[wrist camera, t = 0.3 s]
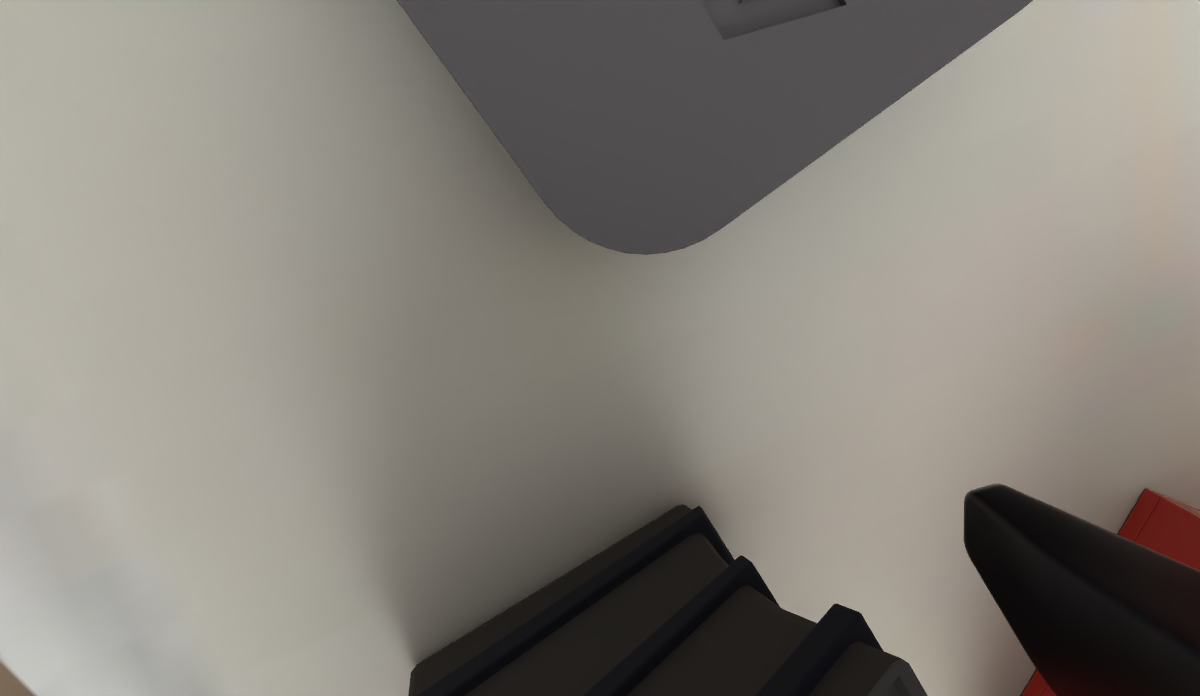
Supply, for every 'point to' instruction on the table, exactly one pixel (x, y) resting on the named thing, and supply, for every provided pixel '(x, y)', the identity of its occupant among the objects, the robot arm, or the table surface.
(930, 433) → the table surface
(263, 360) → the table surface
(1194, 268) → the table surface
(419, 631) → the table surface
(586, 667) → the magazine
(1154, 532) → the valve cabinet
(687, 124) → the streaming box
